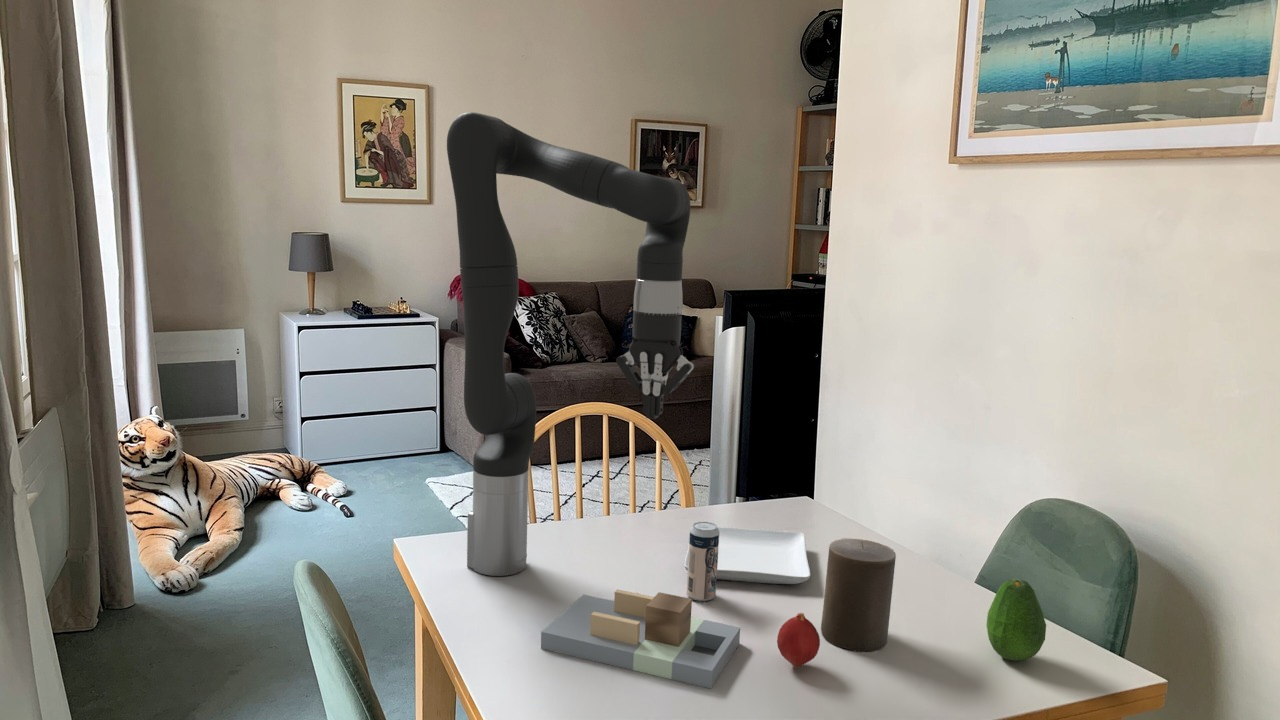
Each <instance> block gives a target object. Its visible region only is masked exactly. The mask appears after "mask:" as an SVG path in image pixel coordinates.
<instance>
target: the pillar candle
mask: <svg viewBox="0 0 1280 720" xmlns="http://www.w3.org/2000/svg"><path fill="white" fill-rule="evenodd" d="M828 545H829V547H828V555H827V568H826V576H825V588H824V597H823V608H822V614H821V622H820V623H821V624H820V631H821V635H822V637H823V638H824V639H825V640H826V641H828V642H829V643H830V644H832V645H835V646H837V647H839V648H843V649H846V650H849V651H854V652H872V651H873V652H874V651H877V650H881V649H883V648H885V647H886V645H887V642H888V637H889V636H888V635H889V628H890V627H889V626H890V617H891V608H892V607H891V606H892V597H893V595H892V594H893V588H894V578H895V577H894V575H895V568H896V567H895V566H896V558H897V557H896V556H897V554H896V552H895V551H894V550H895V549H893V548H891V547H890V546H889V545H885V544H882V543H880V542H877V541H873V540H868V539H863V538H862V539H861V538H850V537H849V538H848V537H844V538H840V539H836V540H833V541H831V542H830V544H828Z"/></svg>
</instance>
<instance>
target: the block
mask: <svg viewBox="0 0 1280 720" xmlns="http://www.w3.org/2000/svg"><path fill="white" fill-rule="evenodd" d="M653 597H654V598H653V599H652V600H651V601H650V602H649V603H648V604H647V605H646V622H645V640H650V641H654V642H659V643H663V644H667V645H672V646H676V647H679V646H680V644H681V643H682V642H683V641H684V639H685V638H686V637H687V635H688V634H689V633H690V626H691V617H692V606H693V605H692V604H693V599H692V598H690V597H689V598H688V597H685V596H680V595H675V594H670V593H666V592H665V593H664V592H660V591H659V592H657V593H656V595H655V596H653Z"/></svg>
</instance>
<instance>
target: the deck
mask: <svg viewBox="0 0 1280 720" xmlns="http://www.w3.org/2000/svg"><path fill="white" fill-rule="evenodd" d="M654 597H655V596H652V595H648V594H647V595H646V594H641V593H636V592H632V591H627V590H622V589H616V590H615V591H614V600H612V599H607V598H602V597H598V596H592V595H588V594H584V593H583V594H582V595H581V596H580V597H579V598H578V599H576V601H574V602H573V603H572V604H571V605H570V606H568V607H567V609H565V610H564V611H563V612H562V613H561V614H559V616H557V617H556V618H554V620H553V621H551V622H550V623H549V624H548V625H547V626H546V627H545V628H543V630H541V632H540V649H542V650H546V651H550V652H555V653H559V654H563V655H568V656H571V657H577V658H580V659H584V660H589V661H593V662H597V663H600V664H601V663H602V664H605V665H610V666H614V667H618V668H623V669H626V670H631V671H635V672H638V673H643V674H648V675H653V676H656V677H660V678H664V679H669V680H673V681H678V682H681V683H685V684H690V685H693V686H694V685H695V686H698V687H702V688H707V689H712V688H713V686H714V685H715V683H716V681H717V680H718V679H719V677H720V675H721V673H722V672H723V670H724V669H725V667H726V665H727V664H728V662H729V661H730V660H731V658H732V656H733V654H734V653H735V651H736V649H737V648H738V646H739V645H740V640H741V639H740V638H741V627H740V626H736V625H733V624H732V625H731V624H727V623H723V622H722V623H721V622H717V621H712V620H708V619H703V618H697V617H692V616H691V626H690V633H689V634H688V635H687V637H686V638H685V639H684V641H683V642H682V643H681V644H680V646H679V647H676V646H672V645H667V644H663V643H659V642H654V641H650V640H645V622H646V605H647V604H648V603H649V602H650V601H651V600H652V599H653V598H654Z"/></svg>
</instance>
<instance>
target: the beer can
mask: <svg viewBox="0 0 1280 720" xmlns="http://www.w3.org/2000/svg"><path fill="white" fill-rule="evenodd" d="M691 527H692V528H690V529H689V538H690V539H689V540H688V546H689V558H688V571H687V576H686V577H687V581H686V595H687V596H688V597H689V598H690V599H692V601H697V602H708V601H710V600H712V599H714V598H716V597H717V580H718V579H717V565H718V548H719V533H720V532H719V529H718V527H719V526H718V525H717V524H715V523H714V522H709V521H697V522H694V523H693V524H692V526H691Z"/></svg>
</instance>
